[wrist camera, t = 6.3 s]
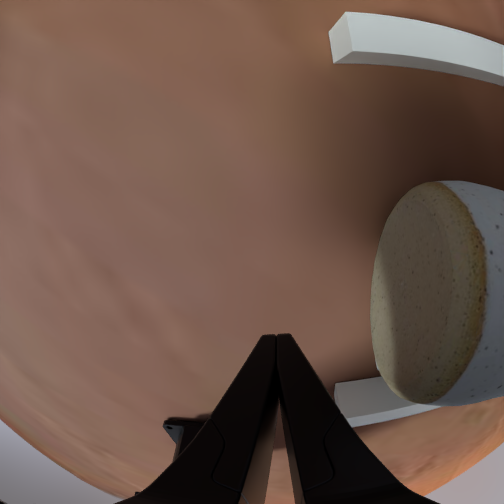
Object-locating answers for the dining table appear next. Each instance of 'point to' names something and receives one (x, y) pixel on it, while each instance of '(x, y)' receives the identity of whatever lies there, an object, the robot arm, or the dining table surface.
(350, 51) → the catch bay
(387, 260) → the ceramic mug
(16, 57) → the dining table surface
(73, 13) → the dining table surface
